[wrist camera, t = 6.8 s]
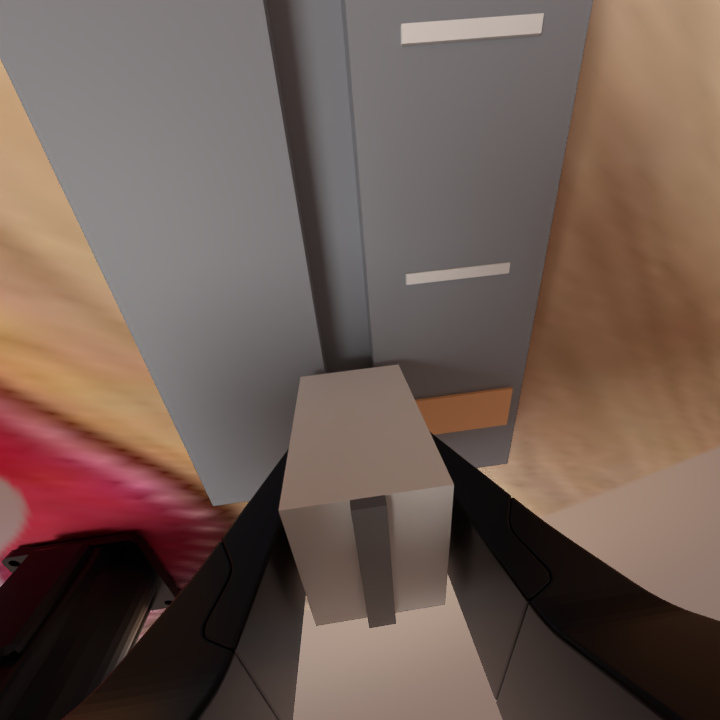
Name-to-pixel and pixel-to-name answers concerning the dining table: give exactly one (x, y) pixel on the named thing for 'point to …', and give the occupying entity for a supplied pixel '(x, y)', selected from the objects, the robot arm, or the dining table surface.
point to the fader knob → (365, 498)
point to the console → (310, 197)
